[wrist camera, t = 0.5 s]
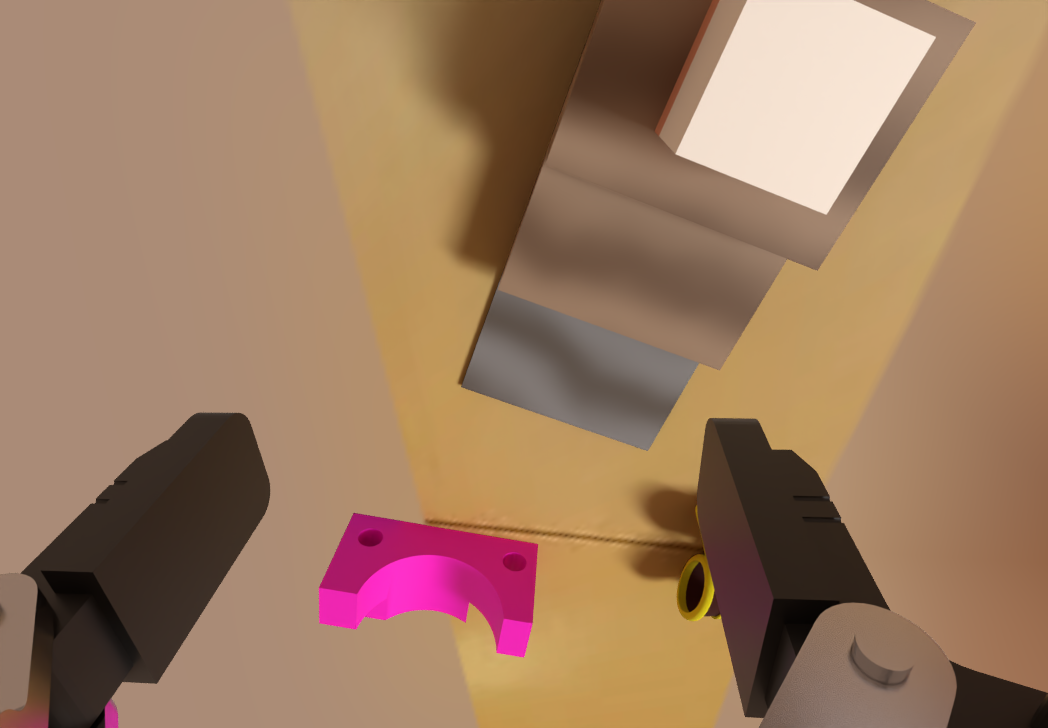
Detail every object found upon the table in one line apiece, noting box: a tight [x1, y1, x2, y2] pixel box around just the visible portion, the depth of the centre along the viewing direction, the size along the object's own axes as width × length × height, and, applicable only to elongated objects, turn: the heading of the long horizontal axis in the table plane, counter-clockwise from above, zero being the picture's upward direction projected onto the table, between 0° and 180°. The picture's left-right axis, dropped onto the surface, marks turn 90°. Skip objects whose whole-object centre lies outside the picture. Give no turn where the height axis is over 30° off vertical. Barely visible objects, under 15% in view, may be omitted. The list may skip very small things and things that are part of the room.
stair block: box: [461, 0, 976, 451], centre depth 32 cm, size 28×14×7 cm, turn 160°
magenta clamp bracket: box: [319, 513, 538, 657], centre depth 46 cm, size 15×6×8 cm, turn 81°
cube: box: [655, 0, 936, 215], centre depth 23 cm, size 6×6×6 cm
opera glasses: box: [677, 505, 721, 621], centre depth 45 cm, size 10×5×5 cm, turn 178°
